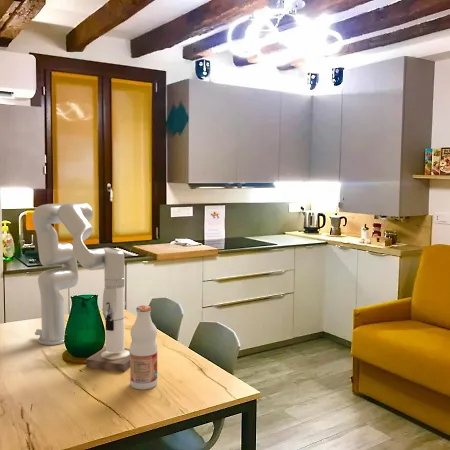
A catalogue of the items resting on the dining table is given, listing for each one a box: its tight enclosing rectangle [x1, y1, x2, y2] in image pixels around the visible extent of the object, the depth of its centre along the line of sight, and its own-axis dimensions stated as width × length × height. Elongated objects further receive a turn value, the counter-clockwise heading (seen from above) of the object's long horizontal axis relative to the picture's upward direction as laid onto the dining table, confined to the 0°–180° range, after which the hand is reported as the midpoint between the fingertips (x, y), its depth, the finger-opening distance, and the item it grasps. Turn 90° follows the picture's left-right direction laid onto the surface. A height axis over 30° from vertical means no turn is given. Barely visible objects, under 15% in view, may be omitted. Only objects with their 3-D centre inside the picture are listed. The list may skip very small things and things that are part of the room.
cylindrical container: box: [105, 286, 125, 352], centre depth 205 cm, size 7×7×25 cm
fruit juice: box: [129, 304, 158, 391], centre depth 184 cm, size 9×9×28 cm
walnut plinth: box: [85, 346, 130, 373], centre depth 207 cm, size 16×16×3 cm
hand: (114, 327), depth 206 cm, fingers closed on cylindrical container, 7 cm apart
